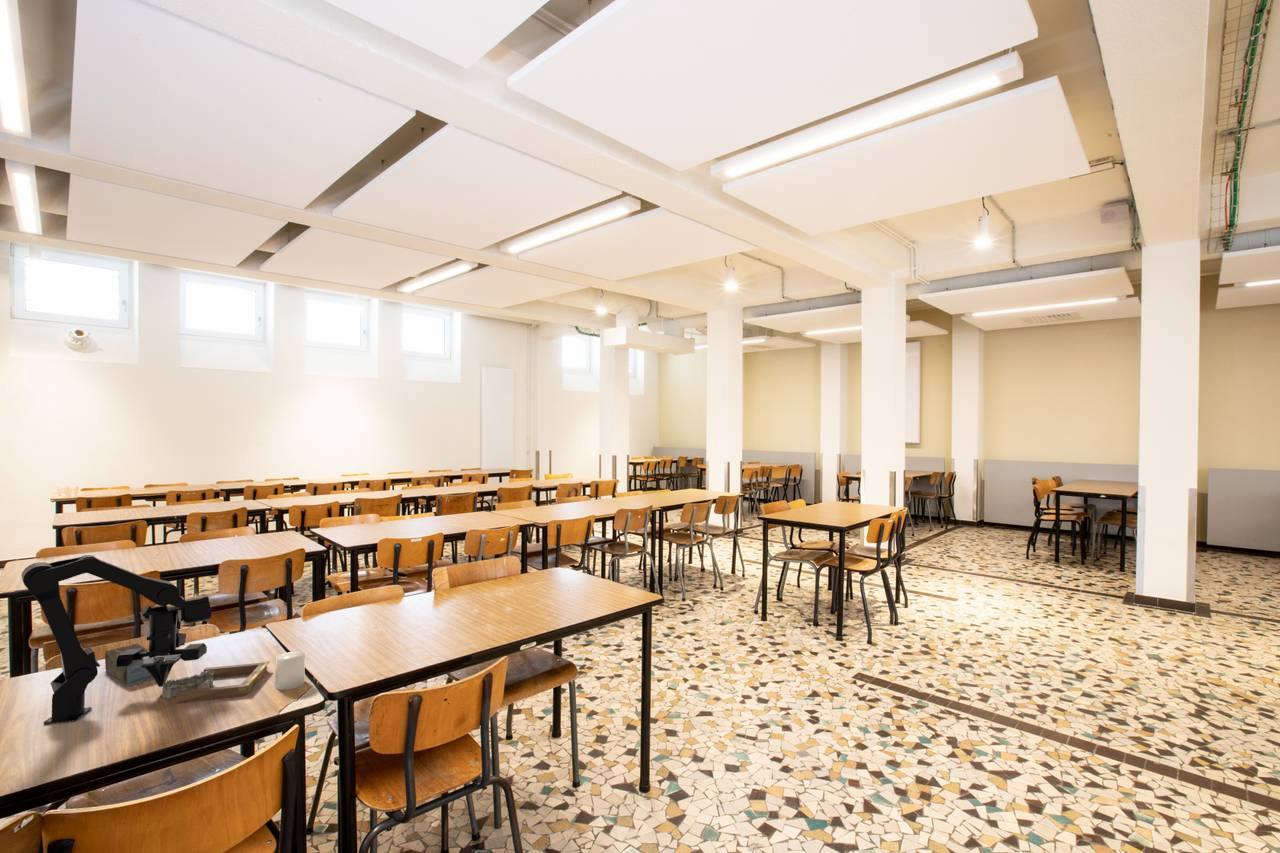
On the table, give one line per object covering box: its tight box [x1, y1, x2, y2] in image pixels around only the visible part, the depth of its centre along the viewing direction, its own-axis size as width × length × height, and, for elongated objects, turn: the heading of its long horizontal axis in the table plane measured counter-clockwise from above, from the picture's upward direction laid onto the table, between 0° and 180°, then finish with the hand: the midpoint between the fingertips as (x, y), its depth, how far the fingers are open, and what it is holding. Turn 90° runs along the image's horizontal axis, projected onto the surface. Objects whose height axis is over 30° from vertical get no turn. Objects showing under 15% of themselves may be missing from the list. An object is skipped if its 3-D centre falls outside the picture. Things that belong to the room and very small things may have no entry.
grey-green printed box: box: [104, 643, 155, 686], centre depth 168 cm, size 8×19×7 cm, turn 56°
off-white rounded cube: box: [274, 650, 306, 691], centre depth 161 cm, size 7×7×8 cm
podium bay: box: [176, 660, 271, 704], centre depth 160 cm, size 17×16×3 cm
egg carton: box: [161, 670, 214, 699], centre depth 157 cm, size 11×8×4 cm
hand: (161, 686), depth 156 cm, fingers closed
